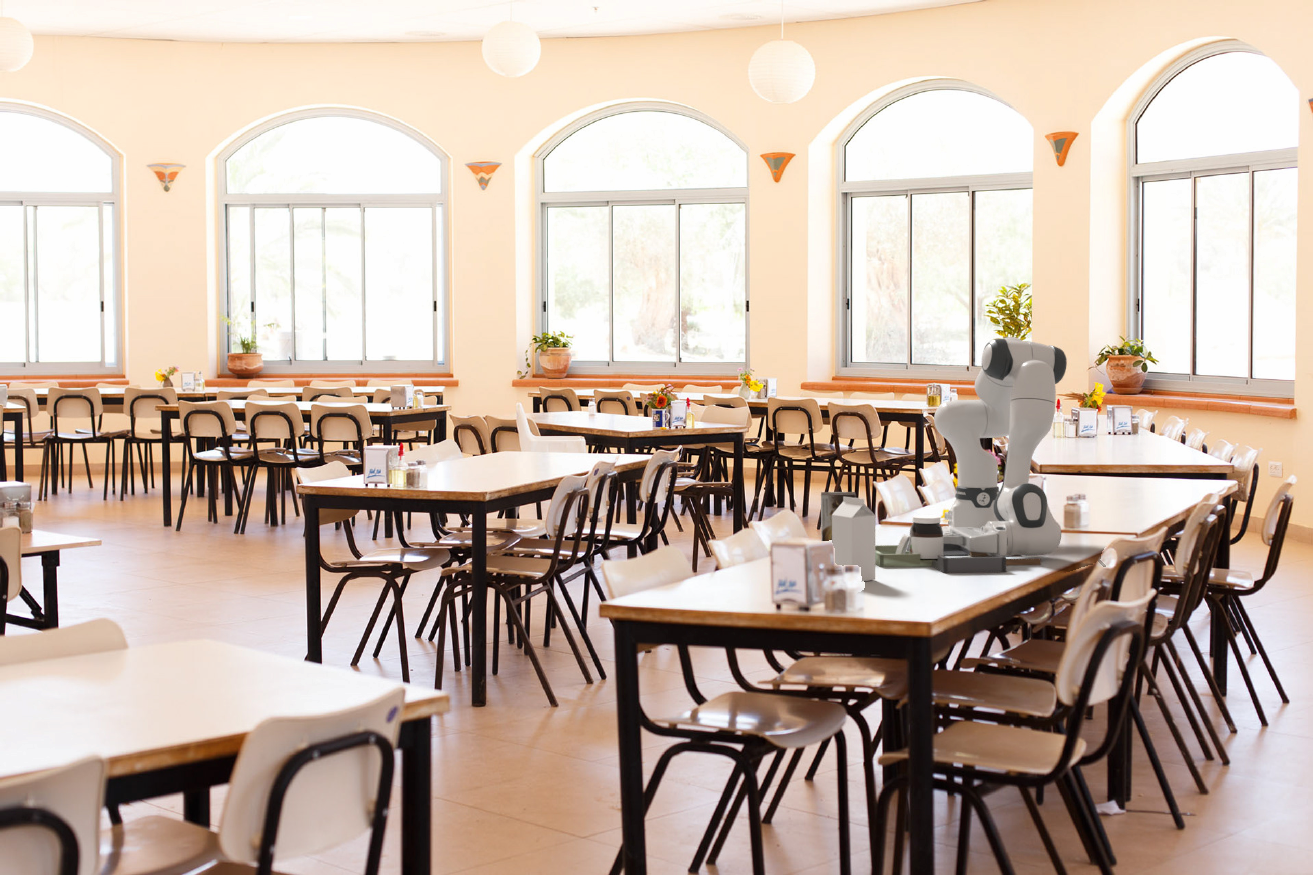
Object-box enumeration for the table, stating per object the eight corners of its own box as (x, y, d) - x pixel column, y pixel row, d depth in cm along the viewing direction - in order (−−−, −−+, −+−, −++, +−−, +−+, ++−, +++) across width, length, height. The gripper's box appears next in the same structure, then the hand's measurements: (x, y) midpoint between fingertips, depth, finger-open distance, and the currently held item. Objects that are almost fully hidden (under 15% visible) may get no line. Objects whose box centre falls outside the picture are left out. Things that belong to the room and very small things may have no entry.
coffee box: (855, 552, 347) (855, 491, 346) (856, 556, 340) (857, 493, 339) (820, 552, 348) (820, 491, 347) (821, 555, 341) (821, 493, 340)
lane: (866, 557, 338) (866, 545, 338) (1019, 555, 340) (1019, 543, 340) (879, 566, 322) (879, 554, 322) (1040, 564, 324) (1040, 552, 324)
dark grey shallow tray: (932, 566, 323) (932, 551, 323) (992, 565, 324) (992, 551, 323) (943, 572, 312) (943, 558, 312) (1005, 572, 313) (1006, 557, 313)
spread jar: (946, 566, 323) (947, 518, 323) (901, 566, 323) (901, 519, 322) (934, 558, 335) (934, 513, 335) (890, 559, 335) (890, 513, 334)
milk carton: (851, 583, 299) (851, 500, 298) (831, 579, 305) (831, 497, 304) (875, 580, 303) (875, 498, 302) (855, 576, 309) (855, 495, 308)
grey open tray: (906, 550, 349) (906, 537, 349) (962, 549, 350) (962, 536, 350) (916, 556, 339) (916, 542, 339) (973, 555, 340) (973, 542, 339)
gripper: (983, 521, 342) (930, 521, 341) (1007, 531, 321) (951, 531, 321) (983, 545, 342) (930, 545, 341) (1007, 557, 322) (951, 557, 321)
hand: (941, 539), depth 331 cm, fingers closed
